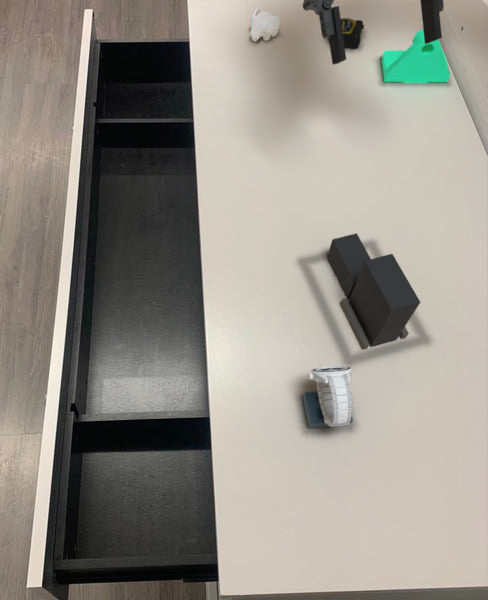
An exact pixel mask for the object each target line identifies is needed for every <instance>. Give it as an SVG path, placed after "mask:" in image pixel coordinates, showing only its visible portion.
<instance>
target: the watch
mask: <svg viewBox="0 0 488 600" xmlns="http://www.w3.org/2000/svg"><path fill="white" fill-rule="evenodd" d="M352 370H353V369H352V367H350V366H344V365H343V366H342V365H332V366H331V365H329V366H322V367H315V368H312V369H311V372H310V373H308V379H309V380H312V381H315V382H316V388H317V391H309V392H307V391H306V392H304V393H303V396H302V398H301V399H302V403H303V408H304V414H305V419H306V424H307V430H313V429H314V430H315V429H324V428H325V429H326V428H338V427H348V426H351V424H352V422H353V421H354V418H353V415H352V414H353V400H352V399H353V398H352V390H351V385H350V382H351V381H352Z"/></svg>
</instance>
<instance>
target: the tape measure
mask: <svg viewBox="0 0 488 600" xmlns="http://www.w3.org/2000/svg"><path fill="white" fill-rule="evenodd" d="M341 25H342V32H343V40H344V47H345V49H351V50H355V49H358V48H359V46H360V44H361V37H362V36H361V35H362V31H363V30H364V28H365V26H366V25H365V24H364V21H363V20H361V19H357V20H354V19H353V18H350V17H349V18H348V17H342V18H341Z"/></svg>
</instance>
